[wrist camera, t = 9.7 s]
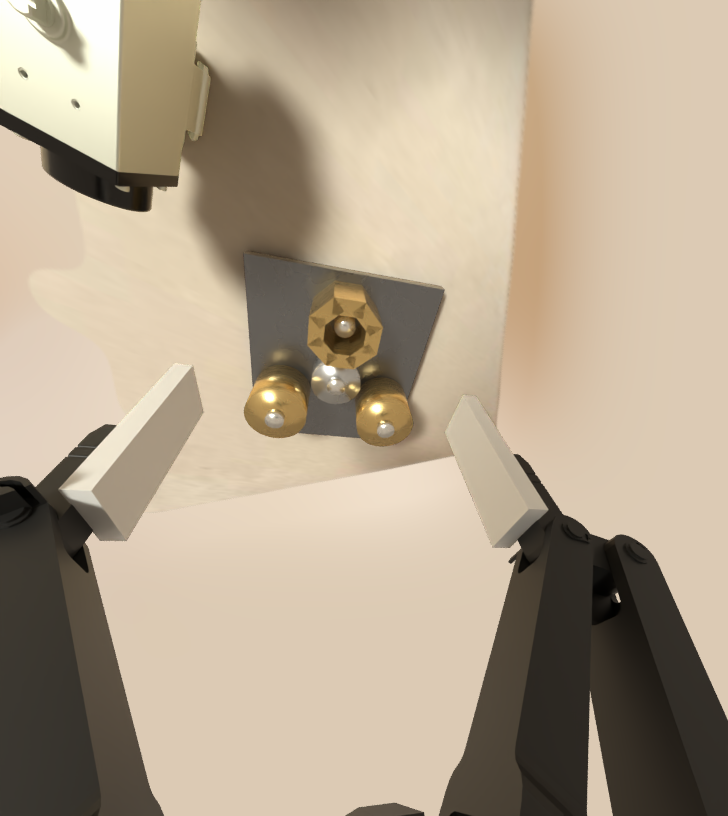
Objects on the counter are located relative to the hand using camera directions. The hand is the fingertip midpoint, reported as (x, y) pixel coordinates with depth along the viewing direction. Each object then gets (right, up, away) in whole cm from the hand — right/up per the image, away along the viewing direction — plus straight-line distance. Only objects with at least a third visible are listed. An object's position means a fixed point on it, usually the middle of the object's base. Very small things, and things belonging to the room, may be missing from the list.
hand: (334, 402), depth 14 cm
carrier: (-2, +5, +18) cm, 18 cm away
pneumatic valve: (-11, +21, +4) cm, 24 cm away
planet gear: (0, +9, +13) cm, 16 cm away
